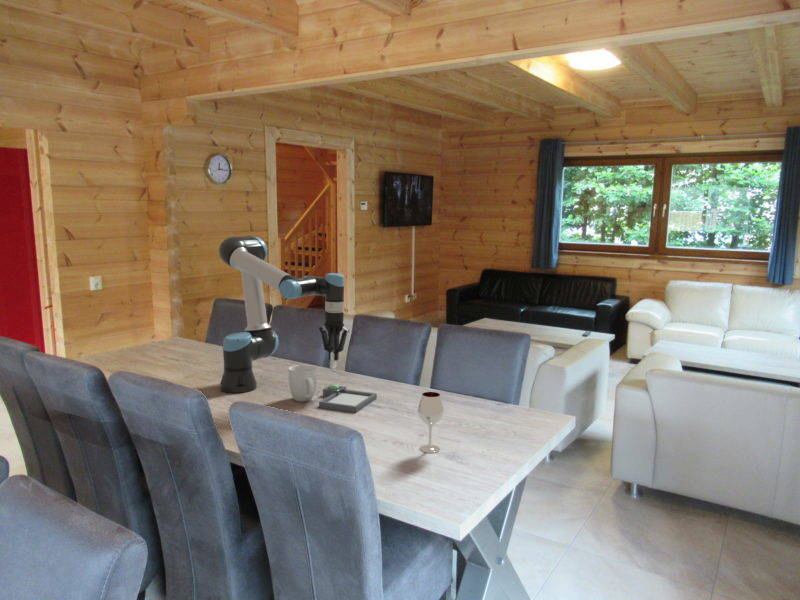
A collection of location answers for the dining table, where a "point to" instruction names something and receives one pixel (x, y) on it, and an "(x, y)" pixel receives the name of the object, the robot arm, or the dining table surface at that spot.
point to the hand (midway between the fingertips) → (333, 367)
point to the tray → (348, 400)
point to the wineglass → (430, 415)
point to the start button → (334, 386)
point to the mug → (302, 382)
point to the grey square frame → (333, 391)
